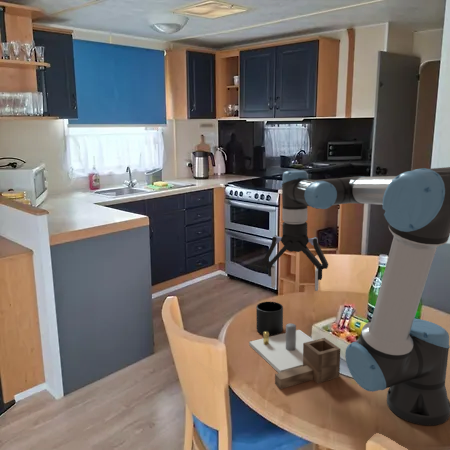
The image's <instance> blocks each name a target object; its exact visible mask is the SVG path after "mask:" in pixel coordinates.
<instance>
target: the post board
mask: <svg viewBox="0 0 450 450" xmlns="http://www.w3.org/2000/svg"><path fill="white" fill-rule="evenodd" d="M314 340H315V339H313V338H312V337H310V336H309V335H308V334H306V333H305V332H303V331H302V330H300V329H297V325H296V324H295V323H287V324H286V325H285V333H280V334H277V335H270V336H269V344H268V345H265V344H263V338H260V339H256V340H251V341H249V342H248V345H249V346H250V348H252V349H253V350H254V351H255V353H257V354H258V355H259V356H260V357H261V358H262V359H263V360H265V362H267V363H268V364H269V365H270V366H271V367H272V368H273V369H274V370H275V371H276V372H277V374H278V373H281V372H285V371H288V370H292V369H295V368H299V367H303V343H306V342H310V341H314Z"/></svg>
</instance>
